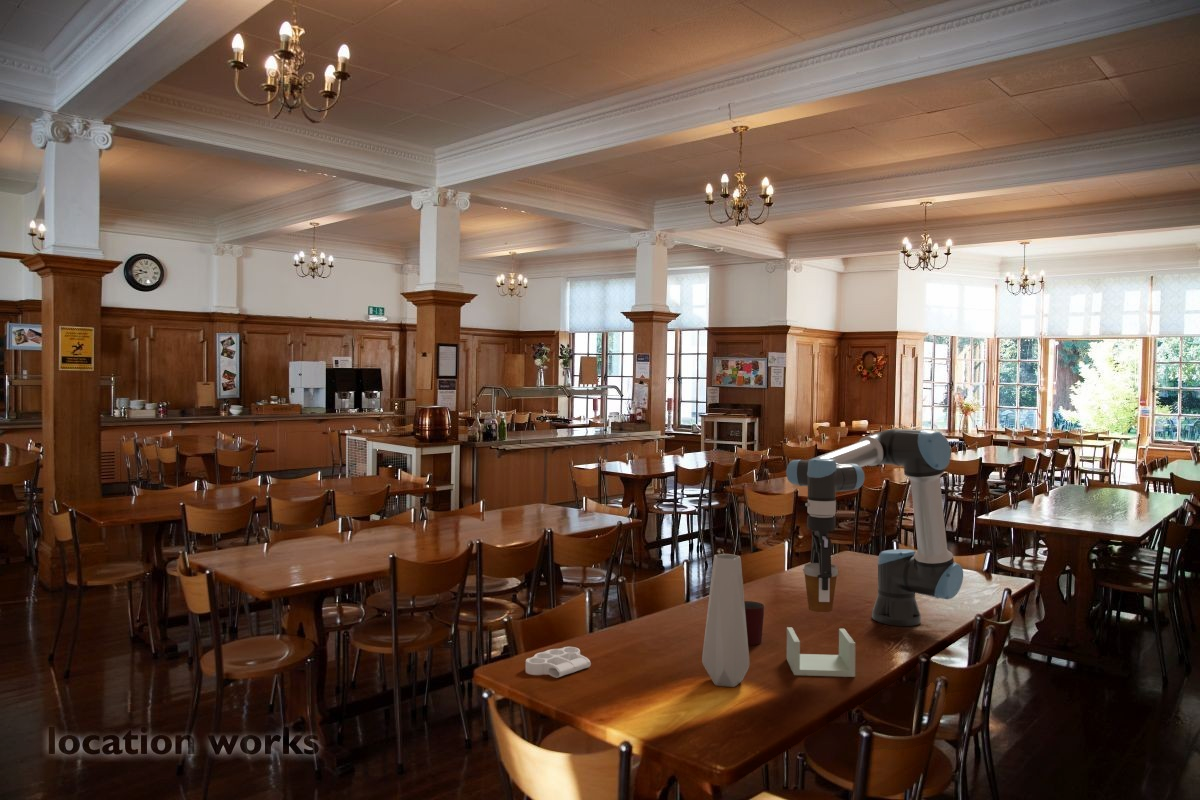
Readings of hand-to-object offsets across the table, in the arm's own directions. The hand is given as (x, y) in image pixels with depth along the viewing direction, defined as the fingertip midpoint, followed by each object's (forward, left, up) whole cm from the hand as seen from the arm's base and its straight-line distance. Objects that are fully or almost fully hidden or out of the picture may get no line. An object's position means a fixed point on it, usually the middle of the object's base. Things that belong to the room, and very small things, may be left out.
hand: (820, 596), depth 224 cm
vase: (+26, +13, -20) cm, 35 cm away
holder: (0, 0, -20) cm, 20 cm away
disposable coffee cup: (0, 0, -4) cm, 4 cm away
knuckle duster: (+72, +5, -20) cm, 75 cm away
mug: (+18, -21, -20) cm, 34 cm away
